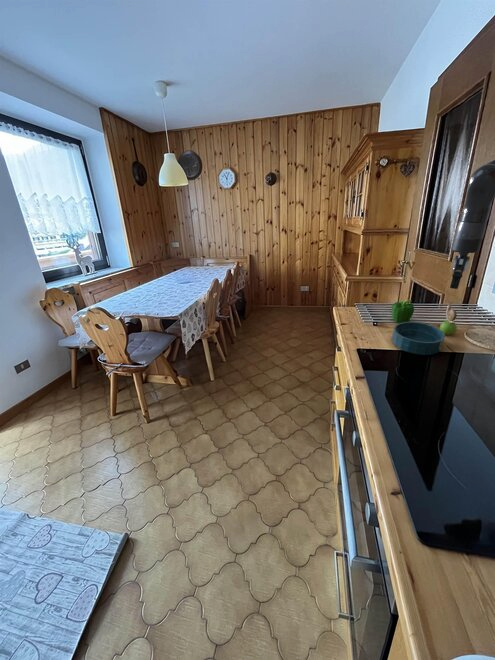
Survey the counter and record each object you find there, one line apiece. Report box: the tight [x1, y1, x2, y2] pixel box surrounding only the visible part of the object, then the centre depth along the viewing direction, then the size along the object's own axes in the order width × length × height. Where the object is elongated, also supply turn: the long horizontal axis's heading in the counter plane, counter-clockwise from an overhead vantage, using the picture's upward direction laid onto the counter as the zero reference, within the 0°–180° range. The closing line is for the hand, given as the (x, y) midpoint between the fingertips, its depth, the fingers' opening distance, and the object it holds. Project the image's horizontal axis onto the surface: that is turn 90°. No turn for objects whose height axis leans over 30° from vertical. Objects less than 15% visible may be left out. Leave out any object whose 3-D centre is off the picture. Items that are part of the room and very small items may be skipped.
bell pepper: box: [391, 299, 415, 324], centre depth 121 cm, size 8×8×10 cm
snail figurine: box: [439, 302, 458, 336], centre depth 109 cm, size 5×6×12 cm
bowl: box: [391, 321, 446, 356], centre depth 105 cm, size 16×16×6 cm
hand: (454, 284), depth 98 cm, fingers open, 8 cm apart
